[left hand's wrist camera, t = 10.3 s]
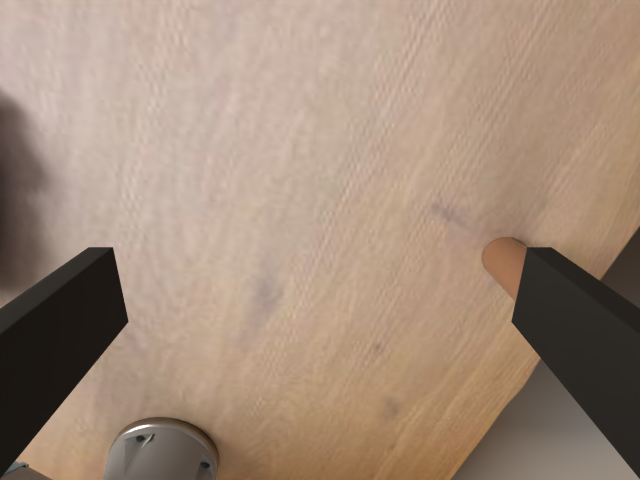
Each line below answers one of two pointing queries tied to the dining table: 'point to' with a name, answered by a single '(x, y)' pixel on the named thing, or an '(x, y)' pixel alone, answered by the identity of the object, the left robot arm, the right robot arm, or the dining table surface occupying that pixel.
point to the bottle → (505, 263)
